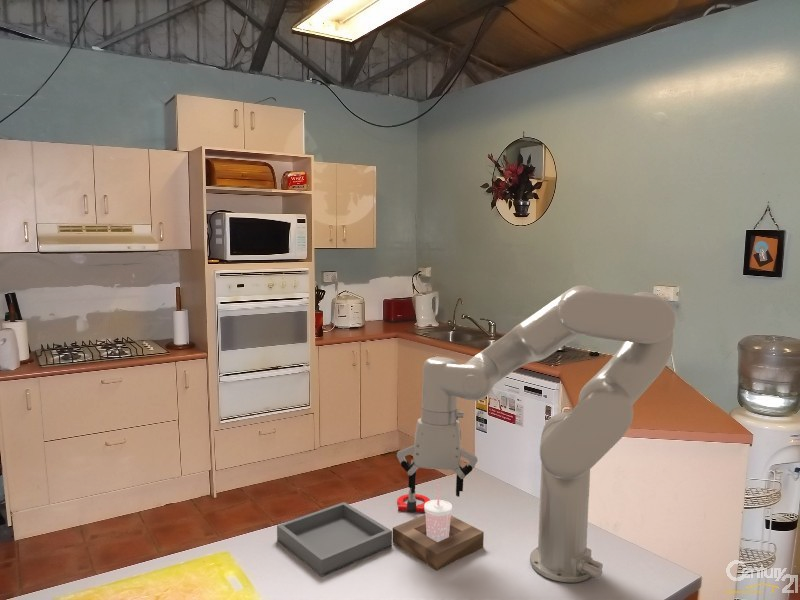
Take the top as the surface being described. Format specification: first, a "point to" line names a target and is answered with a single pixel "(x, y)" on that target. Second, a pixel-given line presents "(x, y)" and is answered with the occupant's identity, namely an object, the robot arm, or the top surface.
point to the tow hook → (411, 502)
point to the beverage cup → (438, 518)
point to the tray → (333, 537)
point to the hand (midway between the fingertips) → (435, 492)
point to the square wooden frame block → (438, 553)
